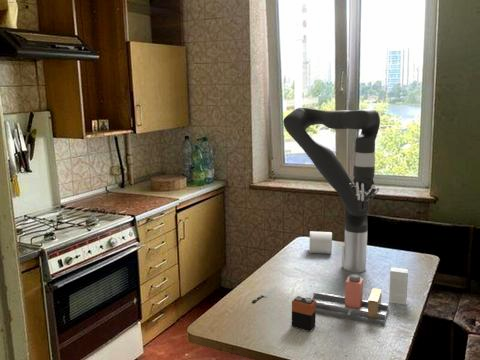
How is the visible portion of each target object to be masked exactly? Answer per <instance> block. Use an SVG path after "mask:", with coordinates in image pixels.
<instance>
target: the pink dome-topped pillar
mask: <svg viewBox="0 0 480 360" xmlns="http://www.w3.org/2000/svg"><path fill="white" fill-rule="evenodd" d="M344 290H345V292H344V297H345V306H348V307H354V308H359V309H361V307H362V300H363V293H364V292H363V291H364V278H363V277H361V276H360V275H359V274H350V275H347V278H346V280H345V289H344Z"/></svg>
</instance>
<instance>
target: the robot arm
mask: <svg viewBox="0 0 480 360" xmlns="http://www.w3.org/2000/svg"><path fill="white" fill-rule="evenodd" d="M380 124H381V117H380V114H379V112H378V111H377V110H376V109H373V108H367V109H357V110H356V109H354V110H349V109H347V110H346V109H345V110H344V109H342V110H321V109H317V108H316V109H314V108H309V107H308V108H307V107H298V108H295V109H294V110H293V111H291V112H290V113H289V114H287V115H286V116H284V119H283V127H284V129H285V131H286V132H287V133H288V134H289V136H290V137H291V138H292V139H293V140H294V141H295V142H296V143H297V144H298V146H300V148H301V149H302V150H303V151H304V152H305V154H306V155H307V157H308V158H309V160H311V162H312V163H313V165H314V166H315V168H316V169H317V170H318V172H319V174H321V176H322V177H323V178H324V179H325V181H326V182H327V183H328V184H329V185H330V186H331V187H332V188H333V190H335V192H336V193H337V194H338V196H339V197H340V199H341V201H342V202H343V204H344V243H343V245H342V249H341V252H342V253H341V267H342V268H343V269H344V270H345V271H347V272H350V273H363V272H365V271H366V269H367V250H368V249H367V247H368V228H369V227H368V226H369V225H368V223H369V222H368V212H369V210H370V200H373V198H375V196H376V195H377V194H378V192H379V191H380V187H376V185H375V181H374V178H375V170H376V169H375V168H376V155H375V154H376V153H375V152H376V139H377V136H378V134H379V133H378V132H379V130H380V126H381V125H380ZM314 125H315V126H316V125H323V126H324V127H327V128H329V129H332V130H349V129H350V130H361V131H360V135H358V136H357V137H356V138H355V142H354V143H355V146H354V156H353V172H352V176H353V181H352V179H351V178H350V176H349V174H348V172H347V171H346V168H345V167H344V166H343V163H342V162H341V160H340V159H339V158H338V156H337V155H336V154H335V152H334V151H333V150H332V149H330V147H327V146H325V145H323V144H321V143H319V142H317V141H315V140H314V139H313V138H312V137H311V136H310V134H309V133H308V132H307V131H306V130H307V129H309V127H312V126H314Z"/></svg>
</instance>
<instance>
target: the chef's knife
mask: <svg viewBox="0 0 480 360" xmlns="http://www.w3.org/2000/svg"><path fill="white" fill-rule="evenodd" d="M277 290H278V286H274V287H273V288H271V289H269V290H267V291H266V292H264V293H263V294H261V295H259V296H258V297H256V298H255V299H253V300H252V301H251V303H252V304H256V303H257V301H259V300H261V299H262V298H270V297H271V296H272V295H273V294H274V293H275V292H276V291H277Z"/></svg>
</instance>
